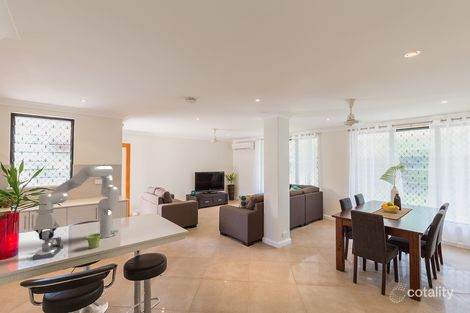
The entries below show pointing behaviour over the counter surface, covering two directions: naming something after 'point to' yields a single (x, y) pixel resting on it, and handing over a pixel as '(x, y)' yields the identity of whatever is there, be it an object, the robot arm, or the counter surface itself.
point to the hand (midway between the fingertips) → (46, 238)
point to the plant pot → (93, 240)
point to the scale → (55, 249)
